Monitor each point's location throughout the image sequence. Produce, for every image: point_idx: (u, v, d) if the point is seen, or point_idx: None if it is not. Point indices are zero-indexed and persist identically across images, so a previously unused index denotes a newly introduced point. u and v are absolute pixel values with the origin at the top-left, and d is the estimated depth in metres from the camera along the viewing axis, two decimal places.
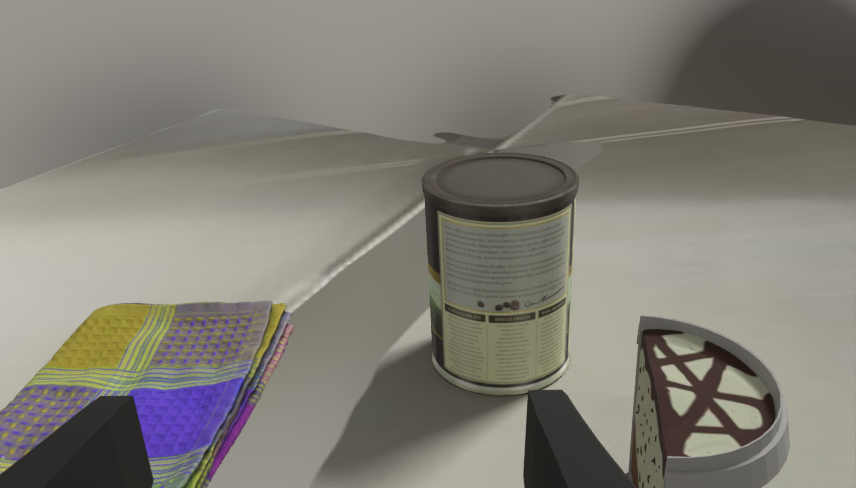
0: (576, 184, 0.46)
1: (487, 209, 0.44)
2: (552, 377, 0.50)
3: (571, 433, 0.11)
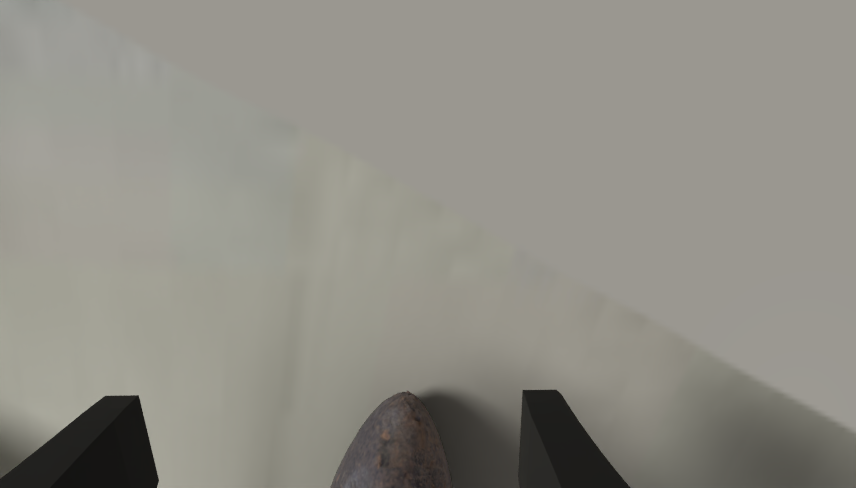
0: None
1: None
2: None
3: (565, 433, 0.11)
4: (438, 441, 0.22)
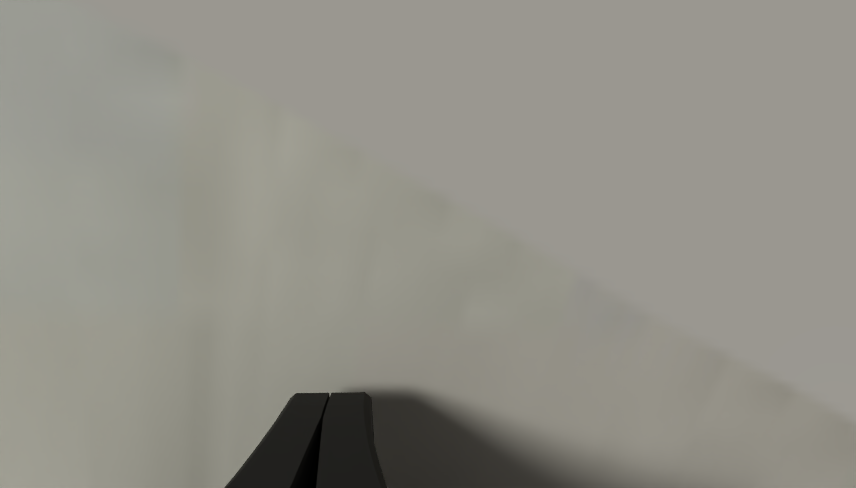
0: None
1: None
2: None
3: (347, 436, 0.11)
4: None
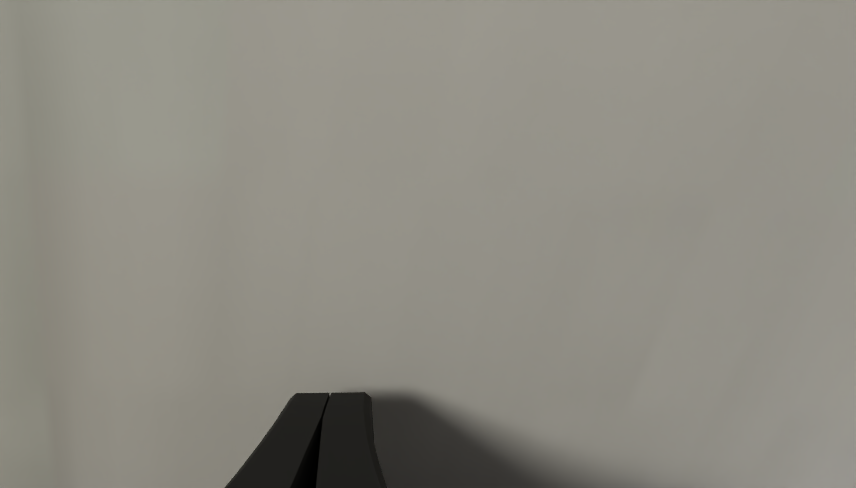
0: None
1: None
2: None
3: (347, 436, 0.11)
4: None
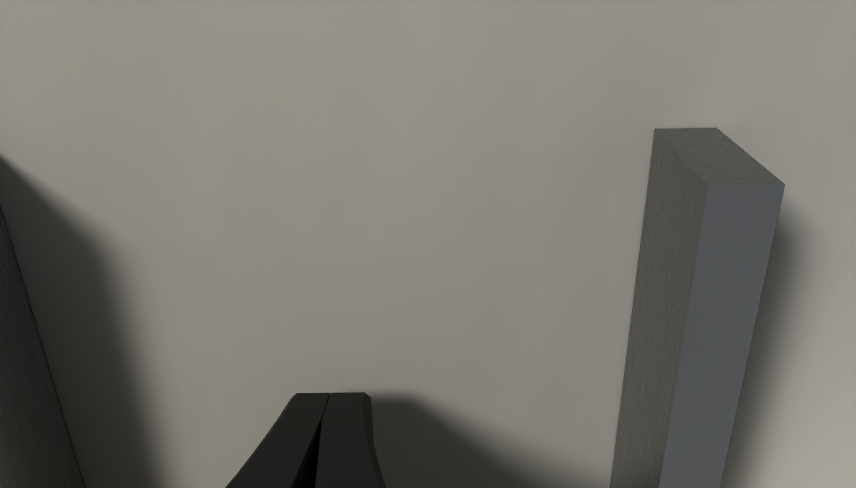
0: None
1: None
2: None
3: (346, 436, 0.11)
4: None
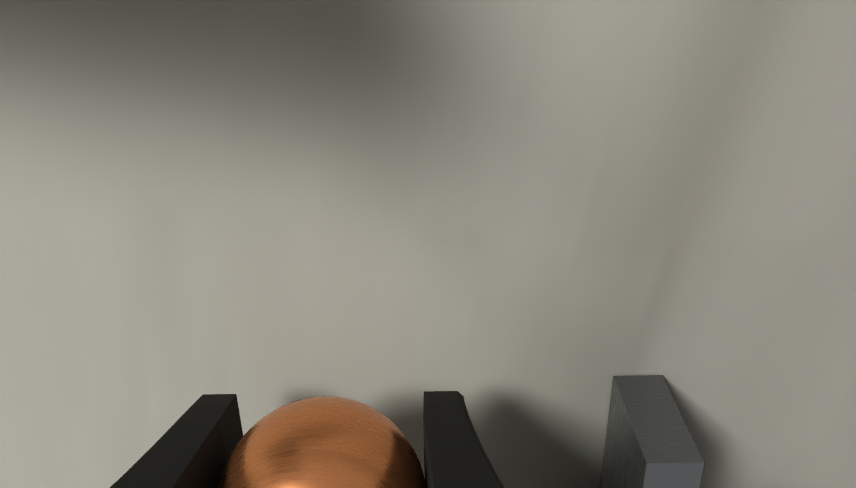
0: None
1: None
2: None
3: (452, 435, 0.11)
4: None
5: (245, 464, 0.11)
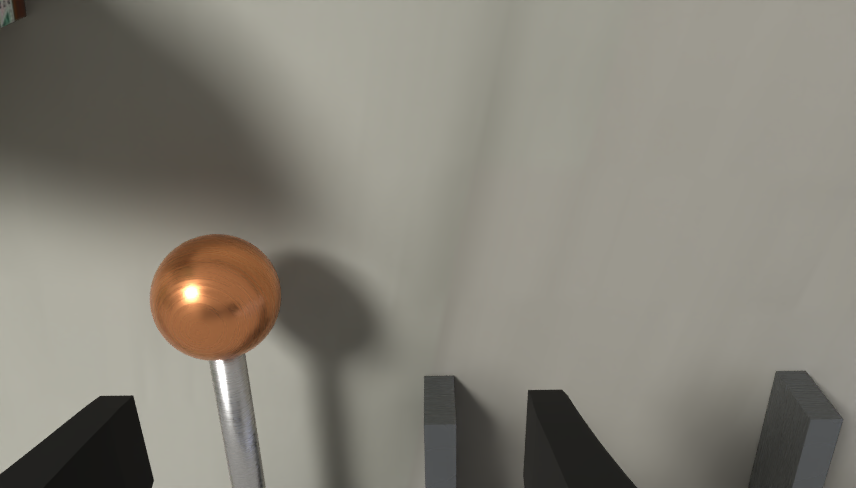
0: None
1: None
2: None
3: (571, 433, 0.11)
4: None
5: (166, 264, 0.19)
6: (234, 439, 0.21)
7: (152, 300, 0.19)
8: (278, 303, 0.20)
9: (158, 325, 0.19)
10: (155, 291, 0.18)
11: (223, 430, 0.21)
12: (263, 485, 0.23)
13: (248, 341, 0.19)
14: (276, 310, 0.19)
